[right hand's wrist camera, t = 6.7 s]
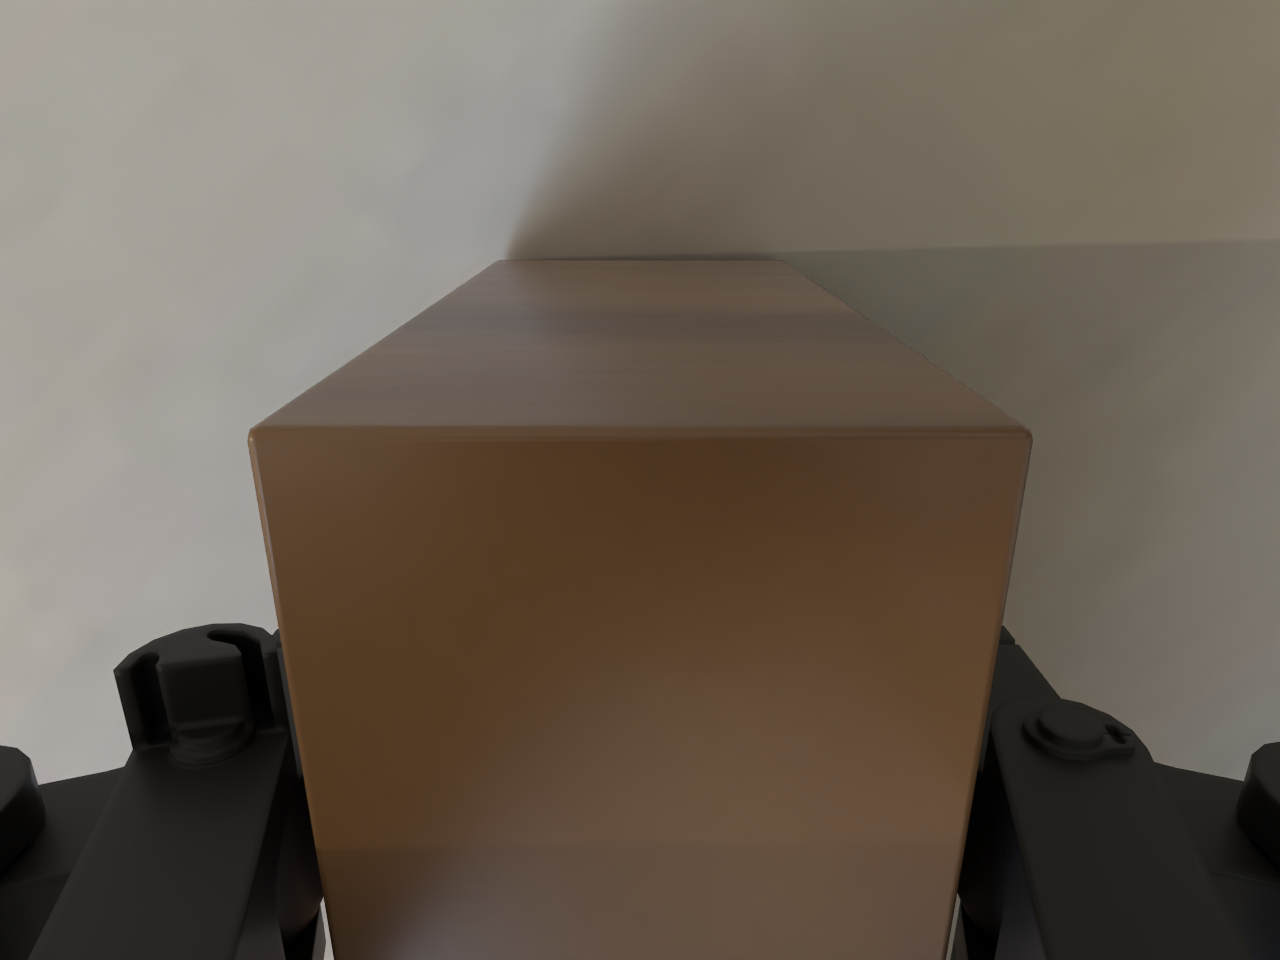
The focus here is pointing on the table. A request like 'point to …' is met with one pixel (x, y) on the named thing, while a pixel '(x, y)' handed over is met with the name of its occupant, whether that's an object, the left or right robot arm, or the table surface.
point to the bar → (640, 619)
